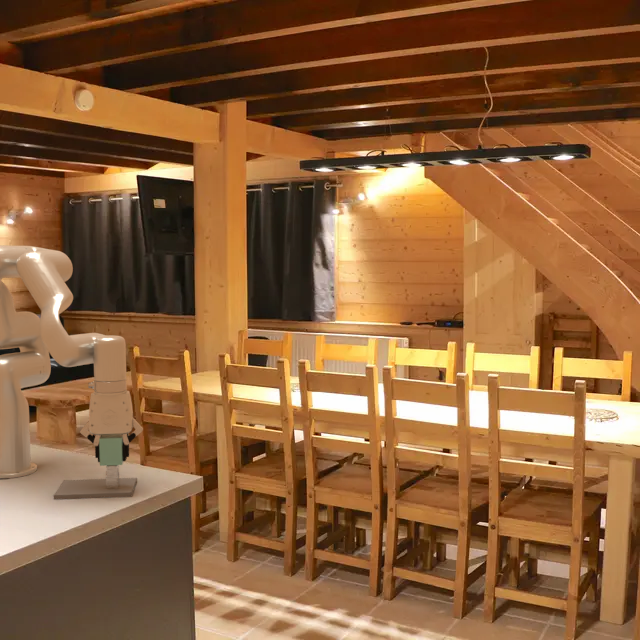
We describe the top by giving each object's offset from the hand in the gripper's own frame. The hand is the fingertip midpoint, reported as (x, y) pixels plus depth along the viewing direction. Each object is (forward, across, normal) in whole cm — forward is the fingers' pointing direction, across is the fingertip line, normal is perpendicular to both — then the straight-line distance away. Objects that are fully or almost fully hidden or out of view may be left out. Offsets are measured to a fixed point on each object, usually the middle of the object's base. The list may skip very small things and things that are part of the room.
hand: (112, 459), depth 186 cm
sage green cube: (+1, 0, 0) cm, 1 cm away
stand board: (+8, -4, +1) cm, 9 cm away
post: (+8, 0, 0) cm, 8 cm away
